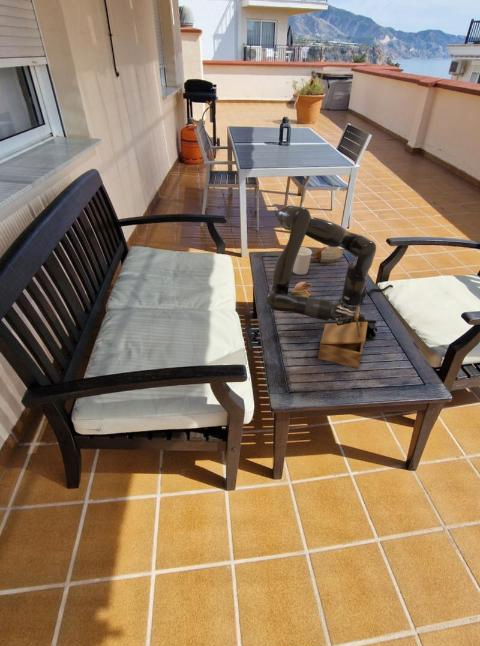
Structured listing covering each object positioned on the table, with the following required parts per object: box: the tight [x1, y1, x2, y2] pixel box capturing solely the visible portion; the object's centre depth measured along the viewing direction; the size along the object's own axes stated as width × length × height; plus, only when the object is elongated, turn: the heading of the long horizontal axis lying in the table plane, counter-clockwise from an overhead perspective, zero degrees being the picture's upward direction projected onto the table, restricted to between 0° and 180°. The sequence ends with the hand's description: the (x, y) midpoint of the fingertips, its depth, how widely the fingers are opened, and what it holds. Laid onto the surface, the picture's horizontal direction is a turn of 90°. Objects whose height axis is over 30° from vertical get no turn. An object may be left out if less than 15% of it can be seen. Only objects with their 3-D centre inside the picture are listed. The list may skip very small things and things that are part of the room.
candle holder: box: [292, 246, 313, 276], centre depth 206 cm, size 10×10×12 cm
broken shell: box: [290, 281, 313, 297], centre depth 187 cm, size 9×10×10 cm
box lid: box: [319, 305, 368, 344], centre depth 148 cm, size 16×13×10 cm
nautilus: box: [310, 246, 344, 264], centre depth 219 cm, size 8×22×15 cm
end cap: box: [351, 318, 378, 340], centre depth 165 cm, size 10×7×7 cm
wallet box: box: [317, 343, 364, 369], centre depth 154 cm, size 16×13×7 cm
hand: (364, 318), depth 144 cm, fingers closed
